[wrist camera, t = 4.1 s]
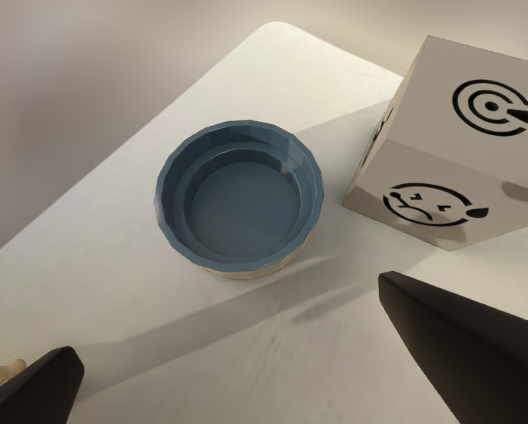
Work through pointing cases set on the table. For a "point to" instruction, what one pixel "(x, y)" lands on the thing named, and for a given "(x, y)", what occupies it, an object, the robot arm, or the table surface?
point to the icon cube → (450, 149)
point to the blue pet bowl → (239, 198)
